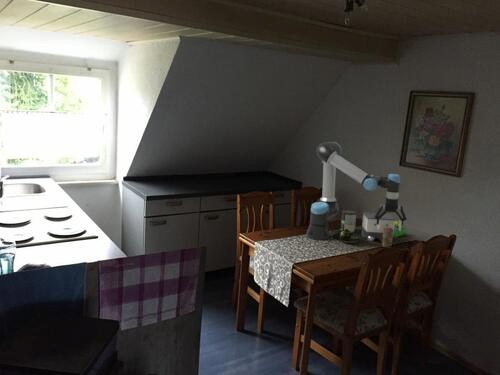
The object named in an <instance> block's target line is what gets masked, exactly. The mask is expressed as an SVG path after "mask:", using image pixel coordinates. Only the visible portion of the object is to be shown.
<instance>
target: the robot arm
mask: <svg viewBox="0 0 500 375" xmlns="http://www.w3.org/2000/svg"><path fill="white" fill-rule="evenodd" d="M341 154H342V147H341V146H340V143H337V142H335V141H328V142H327V141H326V142H322V143H320V144H319V145H318V146H317V148H316V155H317V156H318V158H319V159H320V160H321V163H322V164H323V169H322V172H323V173H322V194H321V195H322V196H321V197H320V198H319V201H316V202H314V203H312V204H311V205H310V206H311V208H310V220H309V226H308V228H307V230H306V237H307V238H309V239H312V240H316V241H317V240H319V241H321V240H322V241H323V240H327V239H329V238H330V235H329V231H328V220H329V219H331V218H334V217H335V216H336V215H337V213H338V212H339V205H338V203H337V199H336V197H335V195H336V194H335V192H336V174H337V169H338V170H340V171H341V172H342V173H343V174H346V175H347V176H348V177H350V178H351V179H352V180H354V181H356V182H357V183H359V184H360V185H362V186H363V188H364V189H365V190H367V191H368V192H369V191H370V192H371V191H374V190H376V189H378V188H382V189H386V196H385V197H386V198H385V204H380V205H379V208H378V210H377V211H376V212H375V213H376V214H375V216H374V218H375V219H377V224H378V228H377V229H378V230H380V218H381V217H382V216H383V215H384V214H388V213H395V214H396V215H397V217H398V218H399V220H398V223H399V229H398V230H399V231H401V227H403V225H404V221H407V217H406V215H405V212H404V208H403V205H399V194H400V185H401V175H400V174H396V173H390V174H388V176H383V175H376V174H371V175H370V174H369V173H366V172H365V171H364V170H362V169H360V168H359V167H357V166H356V165H354V164H353V163H351V162H350V161H348V160H346V159H345V158H344V157H343V156H341ZM383 209H384V210H383ZM398 209H399V211H400V213H401V215H400V213H399V211H398ZM380 213H381V214H380ZM379 214H380V215H379ZM378 215H379V216H378Z"/></svg>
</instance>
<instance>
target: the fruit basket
mask: <svg viewBox="0 0 500 375" xmlns="http://www.w3.org/2000/svg"><path fill="white" fill-rule="evenodd" d="M398 229H399V220H398V221H397V219H396V221H395V225H394V233H393V237H394V238H397V237H401V236H404V235H405V232H406V230H407V228H406V227H403V226H401V231H399V230H398Z"/></svg>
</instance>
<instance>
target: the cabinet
mask: <svg viewBox="0 0 500 375" xmlns="http://www.w3.org/2000/svg"><path fill="white" fill-rule="evenodd" d="M376 213H377V212H366V211H365V212H364V211H363V212H362V214H363V215H362V223H361V224H362V226H361V234H360V235H361V237H362V238H363V239H364V238H365V239H368V235H373V236H375V239H376V238H377V239H378V240H380V237H382V238H383V230H384V227H387V228H392V229H393V233H394V225H395V221H396V220H397V219H396V218H395V217H394V216H393V215H392V214H391V213H385V214H384V215H383V216H382V217H381V218H380V230H378V229H377V228H378V224H377V219H375V218H374V216H375V214H376ZM381 213H382V212H380V214H381ZM380 214H379V215H380ZM379 215H378V216H379Z"/></svg>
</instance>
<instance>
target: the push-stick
mask: <svg viewBox="0 0 500 375" xmlns="http://www.w3.org/2000/svg"><path fill="white" fill-rule="evenodd" d="M393 238H394V236H393V229H392V228H387V227H384V230H383V238H382V237H380V239H379V241H380V242H381V246H382V247H383V248H390V247H389V246H392V244H393Z"/></svg>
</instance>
